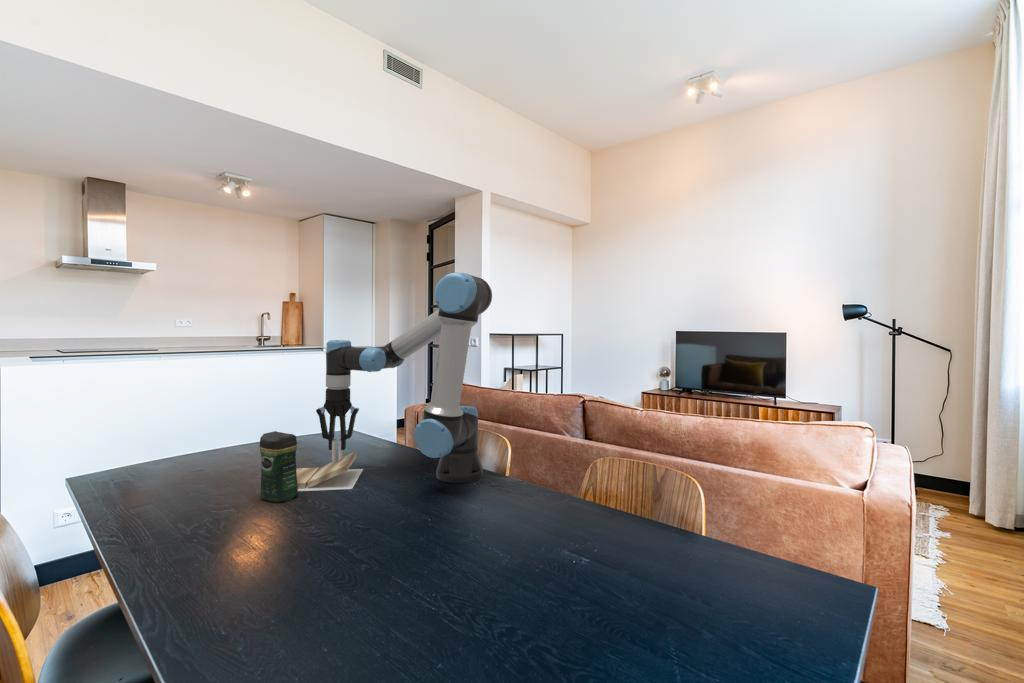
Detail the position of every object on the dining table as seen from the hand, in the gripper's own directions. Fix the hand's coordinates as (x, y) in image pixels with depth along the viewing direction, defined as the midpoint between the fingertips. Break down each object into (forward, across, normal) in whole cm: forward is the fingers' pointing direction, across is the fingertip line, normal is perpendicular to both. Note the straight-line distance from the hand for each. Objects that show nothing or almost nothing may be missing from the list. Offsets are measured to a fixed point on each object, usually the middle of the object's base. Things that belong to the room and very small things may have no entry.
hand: (337, 459), depth 151 cm
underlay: (+5, +5, +4) cm, 9 cm away
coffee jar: (+5, +12, +19) cm, 23 cm away
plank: (+2, 0, +4) cm, 5 cm away
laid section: (+5, +12, +4) cm, 14 cm away
